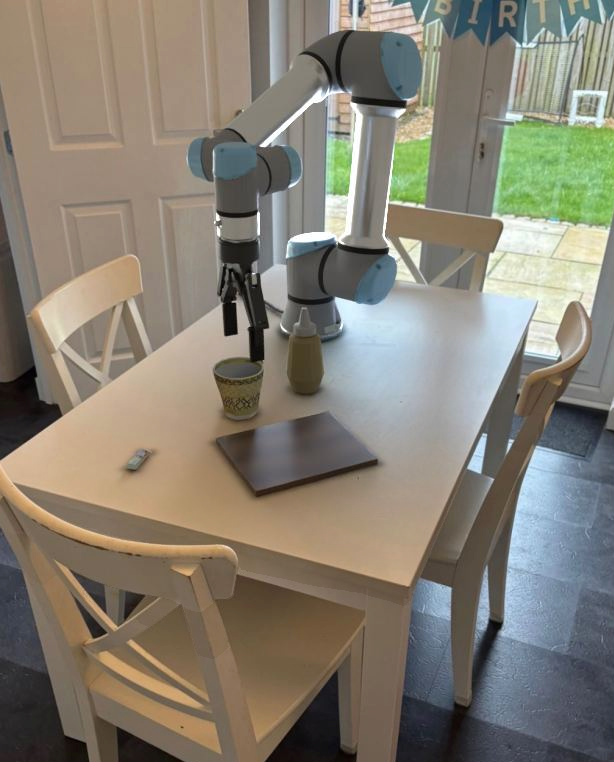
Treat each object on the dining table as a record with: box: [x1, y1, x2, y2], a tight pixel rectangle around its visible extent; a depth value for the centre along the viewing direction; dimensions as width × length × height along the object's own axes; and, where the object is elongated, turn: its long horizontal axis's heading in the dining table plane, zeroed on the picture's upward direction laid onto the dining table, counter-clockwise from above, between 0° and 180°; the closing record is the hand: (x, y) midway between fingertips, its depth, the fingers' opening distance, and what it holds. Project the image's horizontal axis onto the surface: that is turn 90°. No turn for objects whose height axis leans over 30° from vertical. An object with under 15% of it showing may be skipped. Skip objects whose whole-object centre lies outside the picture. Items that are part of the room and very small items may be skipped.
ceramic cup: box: [212, 356, 265, 421], centre depth 157 cm, size 13×10×10 cm
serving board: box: [215, 410, 379, 498], centre depth 146 cm, size 20×24×1 cm
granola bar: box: [123, 449, 153, 470], centre depth 143 cm, size 7×2×1 cm, turn 165°
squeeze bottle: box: [285, 307, 325, 395], centre depth 163 cm, size 8×8×18 cm
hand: (243, 347), depth 152 cm, fingers open, 13 cm apart
